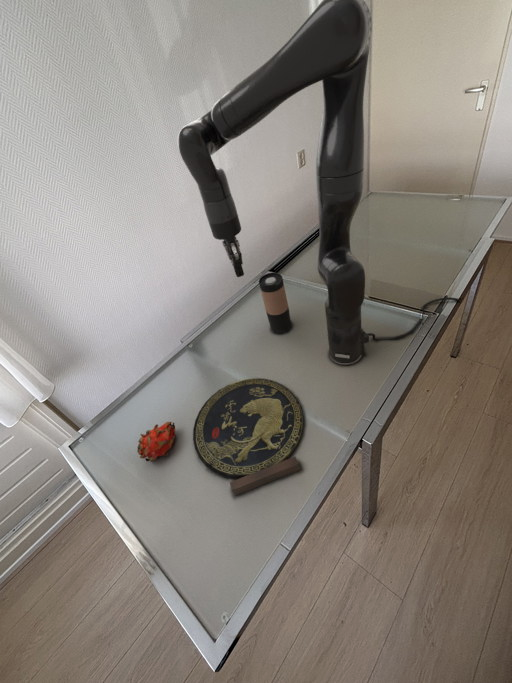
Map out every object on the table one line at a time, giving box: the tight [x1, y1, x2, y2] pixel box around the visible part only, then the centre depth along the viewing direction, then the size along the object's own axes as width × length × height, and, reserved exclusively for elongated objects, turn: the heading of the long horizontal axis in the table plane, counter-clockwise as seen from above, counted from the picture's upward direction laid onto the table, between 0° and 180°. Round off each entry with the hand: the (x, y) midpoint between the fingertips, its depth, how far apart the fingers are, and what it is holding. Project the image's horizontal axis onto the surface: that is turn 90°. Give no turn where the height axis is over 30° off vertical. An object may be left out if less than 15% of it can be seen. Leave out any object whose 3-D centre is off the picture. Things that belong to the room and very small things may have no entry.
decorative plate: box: [192, 377, 304, 480], centre depth 85 cm, size 30×2×30 cm
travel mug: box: [258, 272, 292, 335], centre depth 105 cm, size 8×8×20 cm
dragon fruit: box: [136, 421, 177, 462], centre depth 84 cm, size 8×8×12 cm
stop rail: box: [229, 456, 301, 496], centre depth 73 cm, size 16×2×3 cm, turn 106°
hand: (240, 275), depth 91 cm, fingers closed
